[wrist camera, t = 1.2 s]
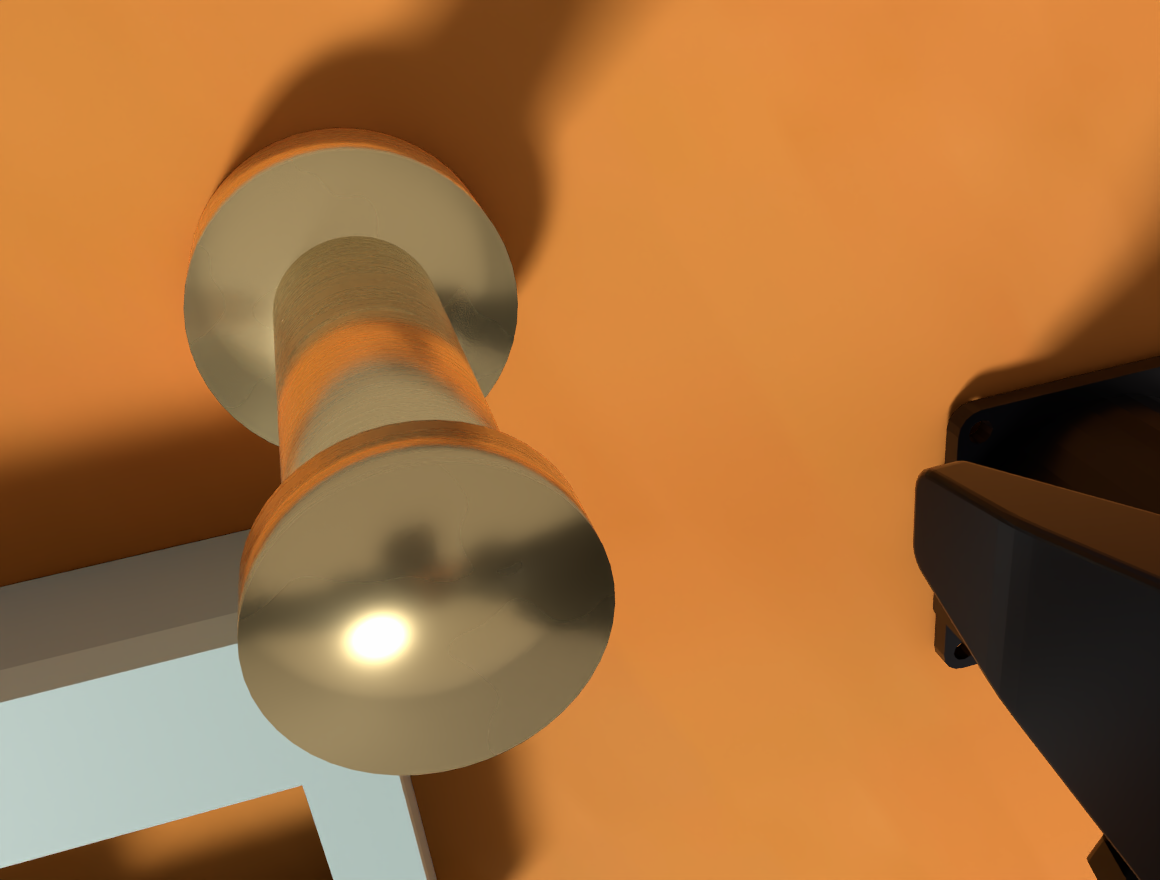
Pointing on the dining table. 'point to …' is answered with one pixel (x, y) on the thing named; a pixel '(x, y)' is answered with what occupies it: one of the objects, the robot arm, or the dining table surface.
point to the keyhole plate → (163, 718)
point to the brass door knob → (388, 462)
